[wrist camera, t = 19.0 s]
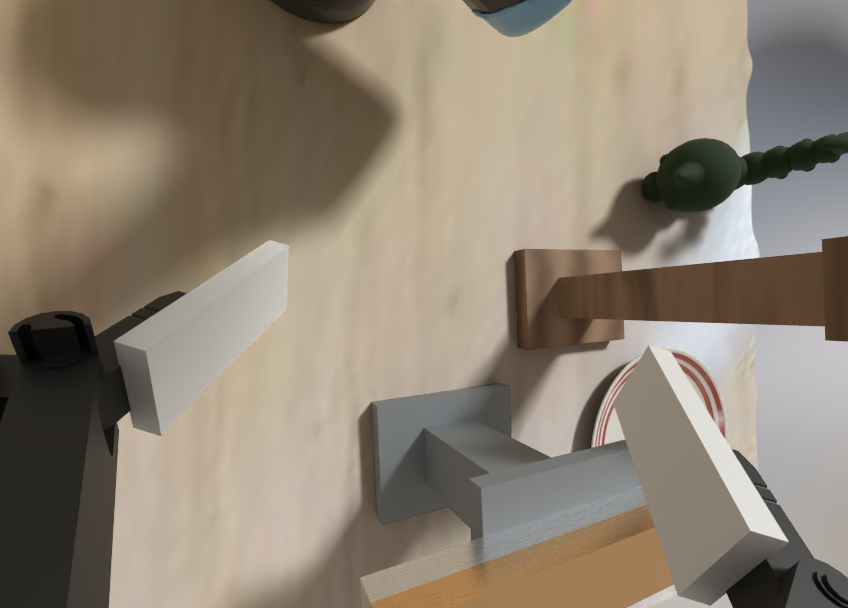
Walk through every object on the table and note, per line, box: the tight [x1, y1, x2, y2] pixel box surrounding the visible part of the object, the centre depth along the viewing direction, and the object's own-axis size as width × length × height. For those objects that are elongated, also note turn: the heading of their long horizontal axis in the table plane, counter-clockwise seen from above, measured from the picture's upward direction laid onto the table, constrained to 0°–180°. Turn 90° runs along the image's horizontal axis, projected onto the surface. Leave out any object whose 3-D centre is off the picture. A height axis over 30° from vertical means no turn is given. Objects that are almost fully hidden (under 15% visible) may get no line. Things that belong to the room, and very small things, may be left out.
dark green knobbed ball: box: [643, 132, 848, 212], centre depth 53 cm, size 9×19×25 cm
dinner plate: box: [591, 348, 728, 448], centre depth 57 cm, size 28×27×3 cm
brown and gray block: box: [360, 486, 674, 608], centre depth 24 cm, size 22×4×4 cm, turn 93°
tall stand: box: [515, 236, 848, 349], centre depth 39 cm, size 16×12×30 cm
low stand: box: [372, 383, 641, 541], centre depth 36 cm, size 16×12×20 cm
